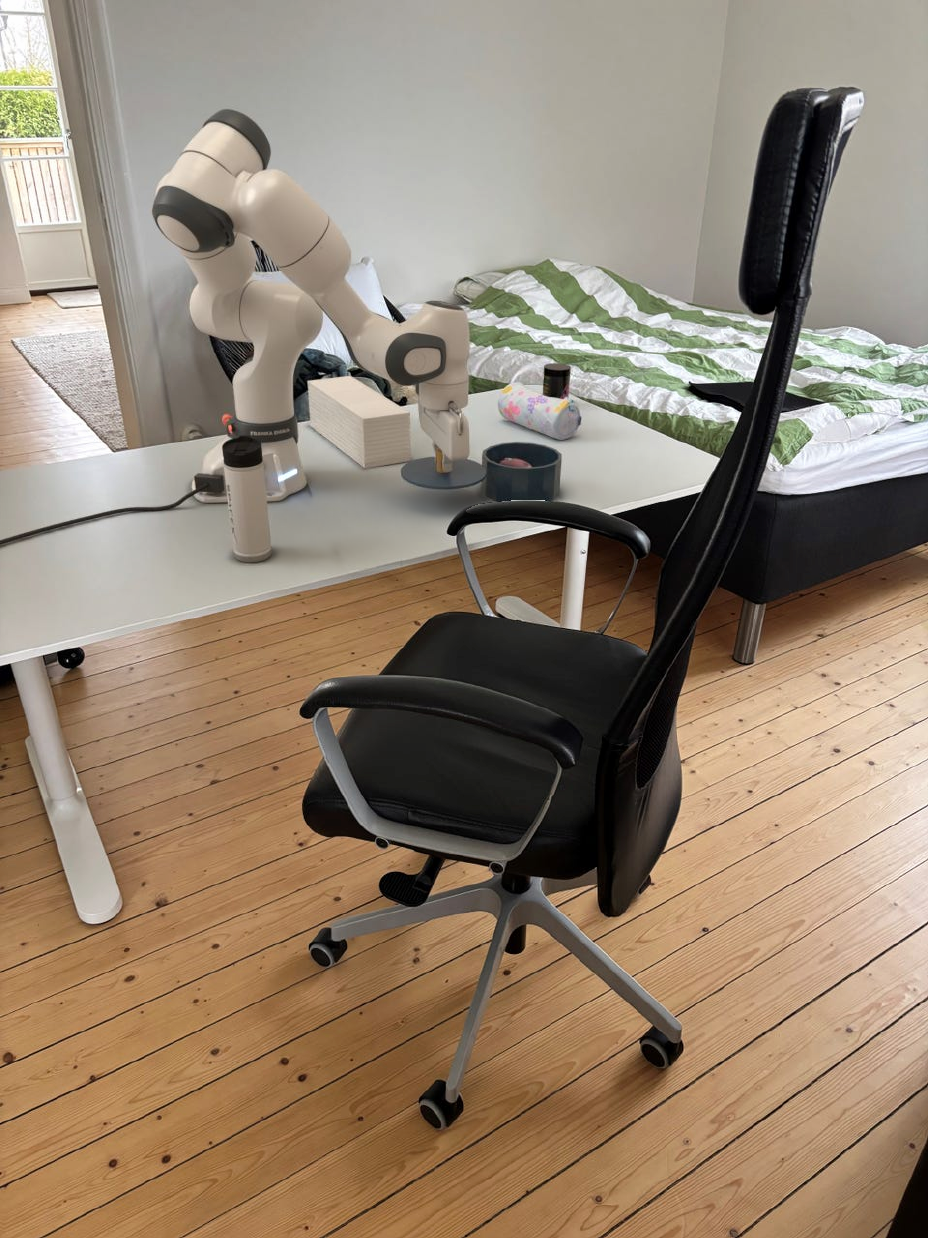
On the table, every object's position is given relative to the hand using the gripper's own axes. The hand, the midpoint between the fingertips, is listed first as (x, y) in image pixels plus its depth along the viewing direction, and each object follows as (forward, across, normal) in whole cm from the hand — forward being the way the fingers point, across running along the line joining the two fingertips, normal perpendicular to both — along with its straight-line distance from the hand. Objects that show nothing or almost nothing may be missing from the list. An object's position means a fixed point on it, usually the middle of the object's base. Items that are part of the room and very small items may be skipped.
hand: (443, 467), depth 175 cm
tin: (+8, +2, -17) cm, 19 cm away
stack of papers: (+8, +40, +8) cm, 42 cm away
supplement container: (+8, +54, -47) cm, 72 cm away
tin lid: (+1, 0, 0) cm, 1 cm away
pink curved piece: (+8, +3, -16) cm, 18 cm away
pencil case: (+8, +39, -35) cm, 53 cm away
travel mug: (+8, -12, +38) cm, 40 cm away
